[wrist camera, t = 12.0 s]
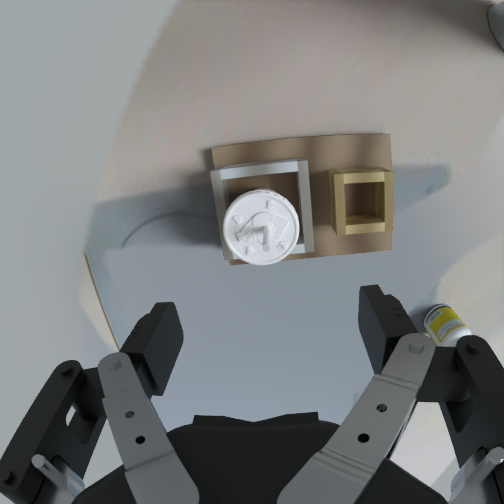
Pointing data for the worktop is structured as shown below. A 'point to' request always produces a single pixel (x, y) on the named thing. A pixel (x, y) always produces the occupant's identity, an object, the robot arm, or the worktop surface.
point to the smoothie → (261, 227)
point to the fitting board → (315, 189)
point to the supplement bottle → (444, 326)
